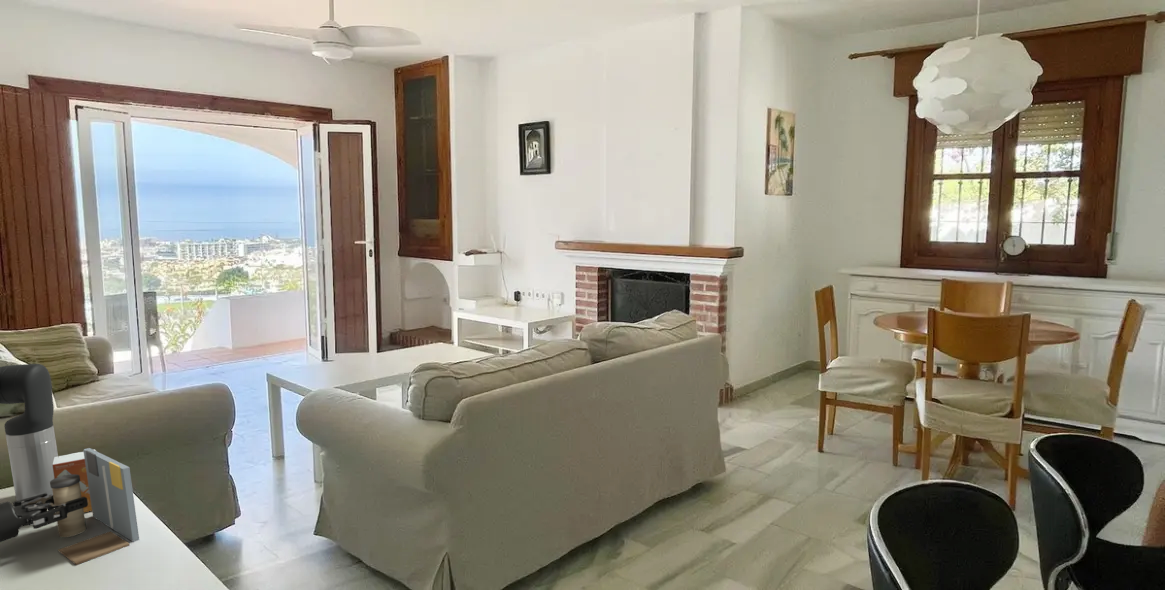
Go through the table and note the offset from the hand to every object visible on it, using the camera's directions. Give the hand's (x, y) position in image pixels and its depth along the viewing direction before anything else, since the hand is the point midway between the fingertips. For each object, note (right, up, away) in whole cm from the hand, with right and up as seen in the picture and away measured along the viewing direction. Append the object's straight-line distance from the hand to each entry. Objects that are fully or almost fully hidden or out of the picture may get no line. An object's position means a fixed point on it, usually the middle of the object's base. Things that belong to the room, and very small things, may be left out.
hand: (80, 497), depth 155 cm
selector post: (-1, -7, -1) cm, 7 cm away
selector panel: (+7, -7, 0) cm, 10 cm away
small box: (-7, -6, +11) cm, 14 cm away
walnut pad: (+9, -8, -9) cm, 15 cm away
